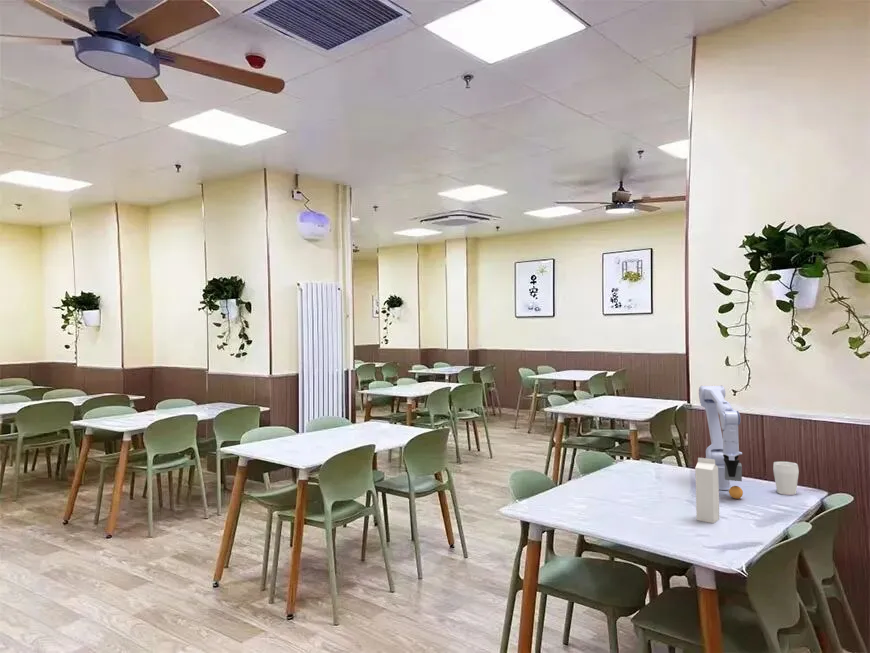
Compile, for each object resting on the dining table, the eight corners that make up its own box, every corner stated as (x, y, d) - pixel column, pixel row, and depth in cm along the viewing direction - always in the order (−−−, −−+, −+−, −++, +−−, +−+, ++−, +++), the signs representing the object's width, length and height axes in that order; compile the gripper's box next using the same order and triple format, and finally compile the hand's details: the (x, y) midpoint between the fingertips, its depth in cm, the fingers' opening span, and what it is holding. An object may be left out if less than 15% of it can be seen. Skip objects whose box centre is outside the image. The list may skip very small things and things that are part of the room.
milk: (702, 516, 221) (700, 455, 221) (719, 519, 217) (718, 458, 217) (696, 520, 217) (694, 458, 217) (714, 523, 212) (712, 460, 213)
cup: (792, 490, 252) (791, 461, 252) (803, 496, 243) (802, 466, 243) (769, 490, 253) (769, 461, 253) (780, 496, 244) (779, 466, 244)
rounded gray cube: (724, 479, 241) (725, 464, 241) (724, 476, 246) (724, 461, 246) (741, 481, 238) (741, 466, 238) (740, 477, 244) (741, 463, 244)
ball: (745, 492, 238) (739, 502, 239) (745, 489, 243) (738, 499, 244) (733, 485, 240) (726, 495, 241) (732, 482, 244) (726, 492, 245)
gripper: (742, 444, 234) (743, 479, 234) (740, 438, 247) (741, 471, 247) (722, 443, 237) (723, 478, 237) (721, 437, 250) (722, 470, 250)
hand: (731, 474), depth 242 cm, fingers closed on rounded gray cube, 6 cm apart
